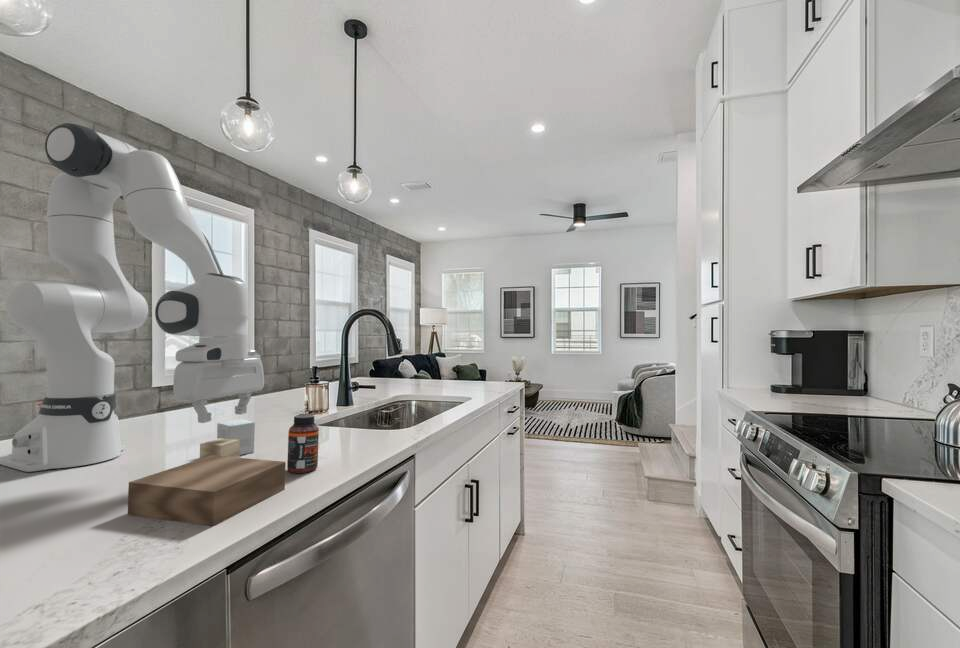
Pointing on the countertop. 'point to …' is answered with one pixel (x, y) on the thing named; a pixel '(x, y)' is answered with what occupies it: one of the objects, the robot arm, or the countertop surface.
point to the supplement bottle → (303, 444)
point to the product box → (238, 433)
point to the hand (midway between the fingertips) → (223, 417)
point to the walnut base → (206, 489)
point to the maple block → (220, 448)
